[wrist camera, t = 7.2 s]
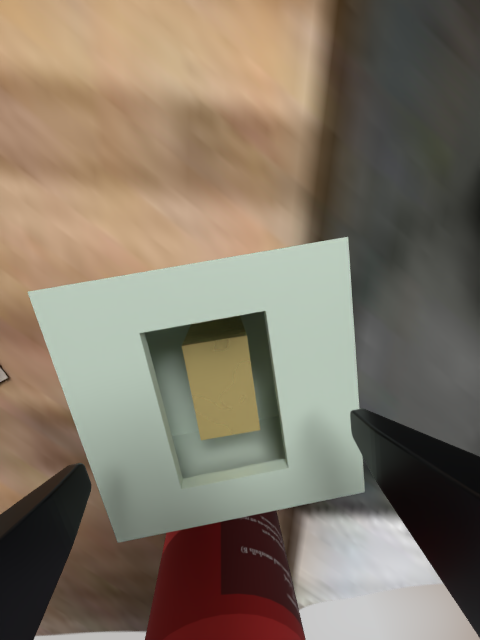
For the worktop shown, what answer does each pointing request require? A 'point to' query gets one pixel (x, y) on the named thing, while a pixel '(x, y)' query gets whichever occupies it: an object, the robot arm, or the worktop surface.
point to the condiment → (2, 375)
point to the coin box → (175, 395)
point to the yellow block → (221, 378)
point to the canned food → (225, 584)
